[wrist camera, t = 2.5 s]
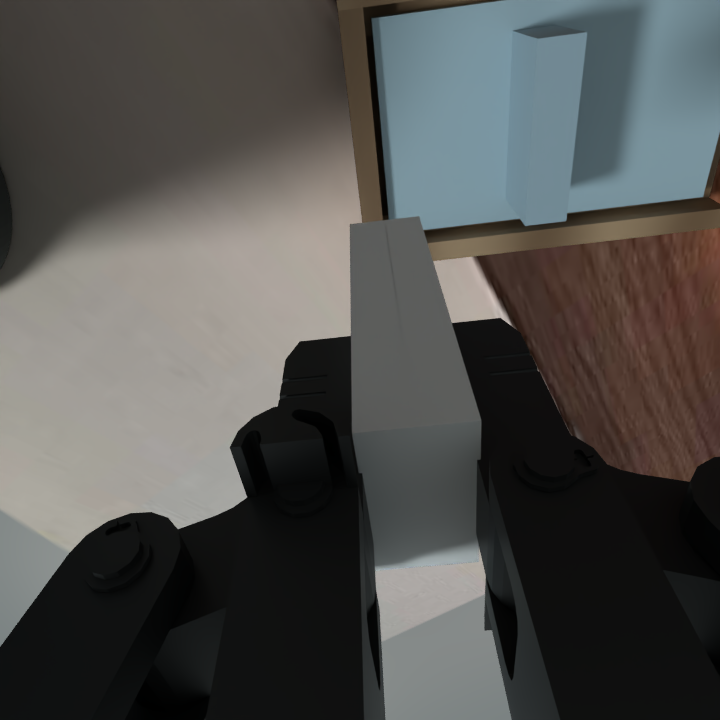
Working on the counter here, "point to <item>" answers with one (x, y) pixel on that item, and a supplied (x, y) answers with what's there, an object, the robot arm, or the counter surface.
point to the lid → (546, 107)
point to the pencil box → (581, 227)
